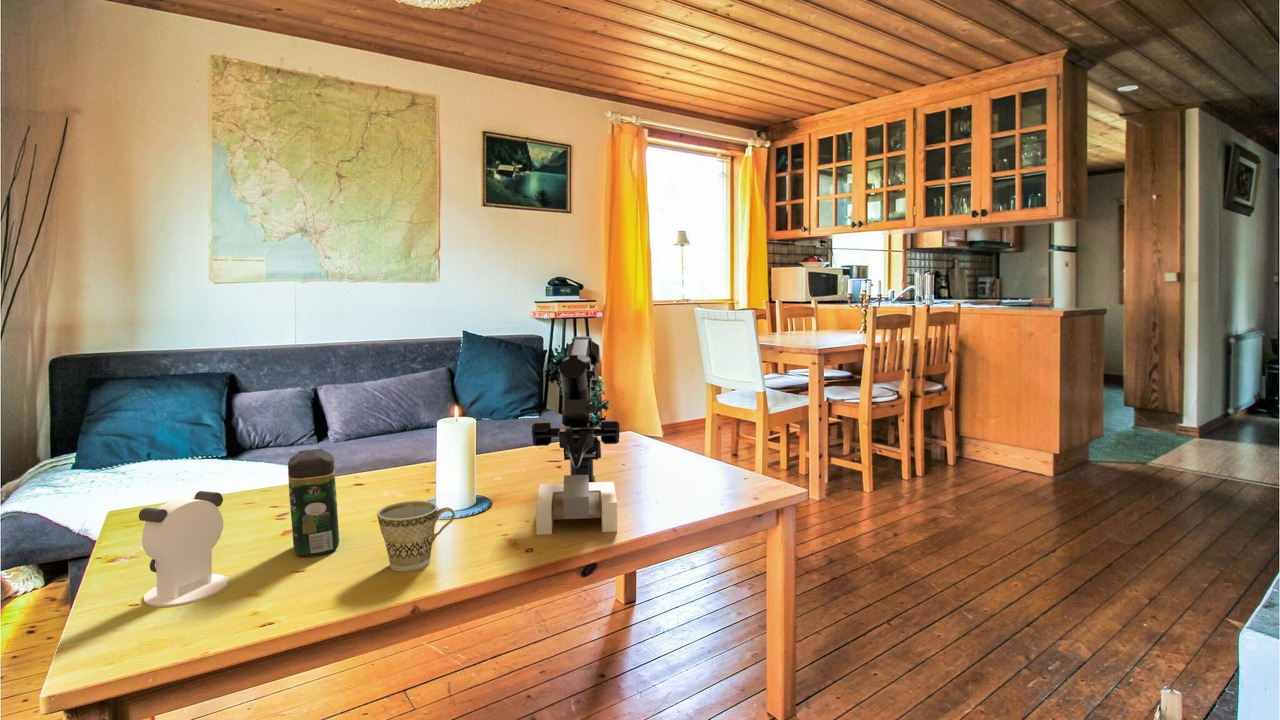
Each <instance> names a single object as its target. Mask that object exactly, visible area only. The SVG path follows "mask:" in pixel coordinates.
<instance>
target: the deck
mask: <svg viewBox="0 0 1280 720" xmlns="http://www.w3.org/2000/svg"><path fill="white" fill-rule="evenodd" d="M539 484H540V485H539V489H538V493H537V498H536V502H535V503H536V504H535V527H536V528H535V531H536V535H537V536H543V535H552V534H553V528H554V520H556V519H554V518H553V515H554V498H555V493H560V492H563V488H564V482H563V483H539ZM589 491H599V503H600V518H599V519H600V520H601V532H602V533H615V532H617V533H618V500H617V496H616V488H615V482H614V481H598V482H597V481H595V482H589Z"/></svg>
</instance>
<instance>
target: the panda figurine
mask: <svg viewBox="0 0 1280 720" xmlns="http://www.w3.org/2000/svg"><path fill="white" fill-rule="evenodd" d="M223 498H224V497H223V496H222V494H221V493H220V492H214V491H204V490H199V491H198V492H196V493H195V495H194V499H193V498H179V499H173V500H171V501H168V502H166V503H163V504H162V505H159V506H158V507H156V508H154V507H144V508H142V509H141V510H140V511H139V513H138V520H139V521H142V522H144V525H143V530H142V535H141V545H142V548H143V550H144V552H145V554H146V555H147V556H148V557H149V558H151V560H150V562H149V570H150V571H151V572H153V573H155V574H156V585H155V586H154V587H153V588H151V589H149V590H148V591H147V592H146V593H145V594H144V595H143V602H144V603H145V604H146V605H148V606H150V607H151V606H152V607H157V608H158V607H159V608H160V607H163V608H165V607H166V608H167V607H175V606H182V605H186V604H190V603H195V602H198V601H202V600H204V599H207V598H210V597H212V596H214V595H217V594H218V593H219V592H221V591H223V590H224V589H225V588H226V587H227V586H228V584H229V579H228V577H227V576H225V575H223V574H220V573H212V572H213V571H212V569H213V568H212V567H213V564H212V563H213V560H212V557H213V554H212V553H213V549H214V547H215V546H216V545H217V543H218V541H219V540H220V538H221V535H222V533H223V530H224V518H223V516H222V513H221V511H220V510H219V507H221V506H222V504H223V501H224V499H223Z"/></svg>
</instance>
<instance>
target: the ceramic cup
mask: <svg viewBox="0 0 1280 720" xmlns="http://www.w3.org/2000/svg"><path fill="white" fill-rule="evenodd" d="M446 512H450V513H451V515H452V516H451V519H449V521H447V522H446V523H445V524H444V525H443V526H441V528H439V530H438V532H435V525H436V523H437V521H438V520H439V517H440V516H441V515H442V514H443V513H446ZM376 517H377V521H378V525H379V528H380V531H381V535H382V538H383V540H384V543H385V547H386V552H387V556H388V561H389V565H390V569H391V570H392V571H396V572H400V573H401V572H402V573H405V572H406V573H407V572H410V571H418V570H421V569H423V568H424V567H426V566H428V565H429V564H430V563H431V554H432V549H433V543H434V542H435V540H436V538H437V537H438V536H439V535H440V534H441V533H442V531H444V529H445V528H447V527H448V525H449V526H450V524H451V523H452V522H453V521H454V519H455V511H454V510H453V509H452V508H451V507H441V508H440V509H438V505H437V504H436V503H434V502H431V501H426V500H410V501H409V500H407V501H401V502H395V503H391V504H388V505H385V506H383V507H382V508H380V509H379V510H378V511H377V513H376Z"/></svg>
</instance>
